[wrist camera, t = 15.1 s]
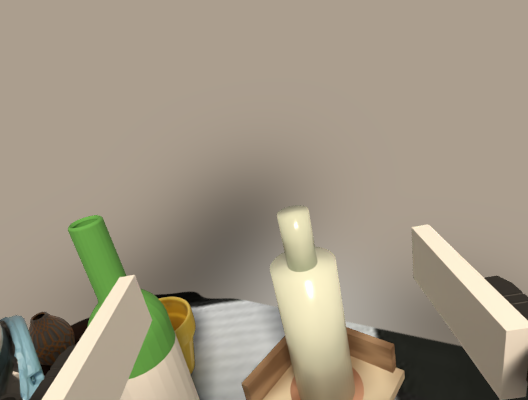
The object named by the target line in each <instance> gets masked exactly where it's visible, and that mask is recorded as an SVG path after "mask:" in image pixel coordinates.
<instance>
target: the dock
mask: <svg viewBox="0 0 528 400" xmlns="http://www.w3.org/2000/svg"><path fill="white" fill-rule="evenodd" d="M346 330H347V337H348V343H349V350H350V357H351V363H352V370H353V376H354V383H355V395H354V398H353V400H394V398H395V396H396V394H397V392H398V390H399V388H400V386H401V384H402V382H403V380H404V378H405V376H404V371H403V370H401V369H398V368H396V361H395V350H394V344H392V343H389V342H386V341H383V340H381V339H378V338H375V337H372V336H369V335H367V334H364V333H361V332H358V331H356V330H353V329H350V328H347V327H346ZM242 386H243V390H244V393H245V396H246V400H301V399H300V397H299V393H298V389H297V385H296V380H295V376H294V372H293V367H292V363H291V359H290V354H289V350H288V346H287V341H286V337H285V336H284V337H283V339H282V340H281V341H280V342H279V343H278V344H277V345H276V346H275V347H274V348H273V350H272V351H271V352H270V353H269V354H268V355H267V356H266V357H265V358H264V359H263V361H262V362H261V363H260V364H259V365H258V366H257V367H256V368H255V369H254V370H253V371H252V373H251V374H250V375H249V376H248V377H247V378H246V379H245V380H244V381H243V382H242Z"/></svg>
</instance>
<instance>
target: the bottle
mask: <svg viewBox="0 0 528 400" xmlns="http://www.w3.org/2000/svg"><path fill="white" fill-rule="evenodd" d="M277 218H278V222H279V228H280V233H281V237H282V242H283V247H284V253H282V254H280V255H279V256H278V257H276V259H274V260H273V262H272V263H271V266H270V272H271V277H272V280H273V285H274V289H275V294H276V298H277V302H278V307H279V311H280V316H281V320H282V324H283V329H284V333H285V337H286V341H287V346H288V350H289V354H290V359H291V363H292V367H293V372H294V376H295V380H296V385H297V389H298V393H299V397H300V399H301V400H353V398H354V395H355V383H354V376H353V370H352V363H351V357H350V350H349V343H348V337H347V330H346V324H345V317H344V311H343V305H342V298H341V291H340V284H339V278H338V271H337V265H336V258H335V256H334V255H333V253H331V252H330V251H329V250H327V249H324V248H320V247H315V244H314V239H313V233H312V227H311V221H310V215H309V211H308V208H307V207H305V206H290V207H287V208H284V209H282V210H280V211H279V212H278V213H277Z"/></svg>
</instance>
